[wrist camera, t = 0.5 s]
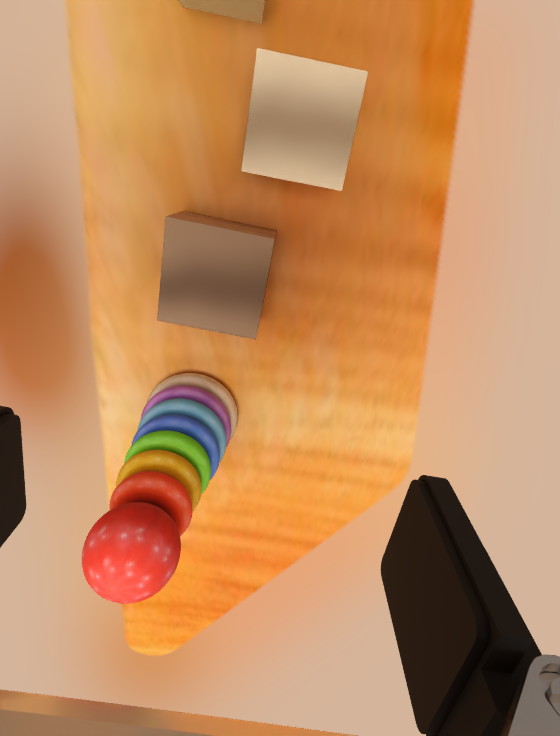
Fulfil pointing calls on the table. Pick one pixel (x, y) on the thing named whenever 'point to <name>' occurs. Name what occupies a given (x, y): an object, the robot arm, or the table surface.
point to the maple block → (302, 119)
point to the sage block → (229, 8)
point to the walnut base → (214, 273)
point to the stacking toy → (159, 487)
